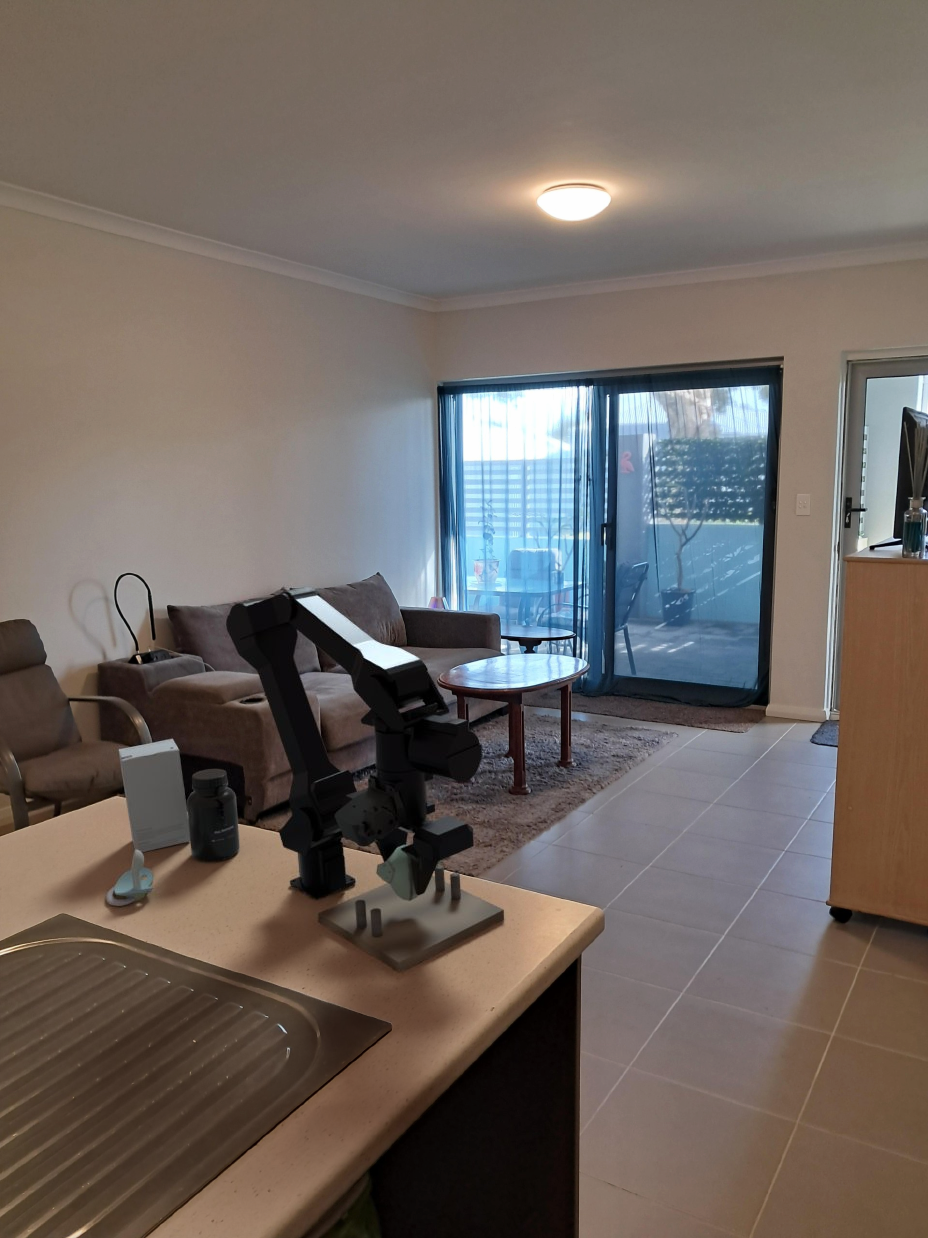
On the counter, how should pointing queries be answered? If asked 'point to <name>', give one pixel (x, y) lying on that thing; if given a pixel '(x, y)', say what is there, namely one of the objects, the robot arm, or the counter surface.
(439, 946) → the pin tray
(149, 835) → the skincare box
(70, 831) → the counter surface
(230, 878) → the counter surface
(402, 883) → the grey-green curved shell
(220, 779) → the supplement bottle
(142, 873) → the pacifier
